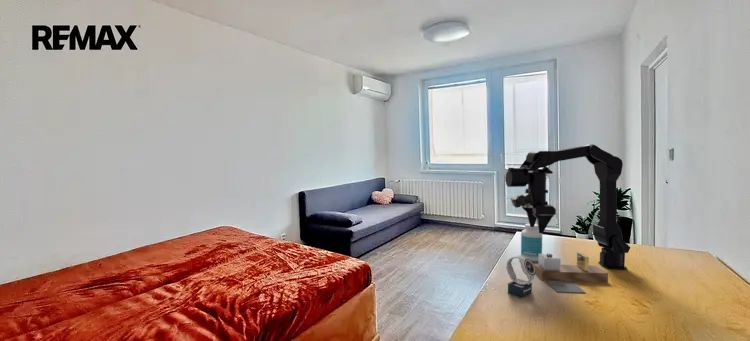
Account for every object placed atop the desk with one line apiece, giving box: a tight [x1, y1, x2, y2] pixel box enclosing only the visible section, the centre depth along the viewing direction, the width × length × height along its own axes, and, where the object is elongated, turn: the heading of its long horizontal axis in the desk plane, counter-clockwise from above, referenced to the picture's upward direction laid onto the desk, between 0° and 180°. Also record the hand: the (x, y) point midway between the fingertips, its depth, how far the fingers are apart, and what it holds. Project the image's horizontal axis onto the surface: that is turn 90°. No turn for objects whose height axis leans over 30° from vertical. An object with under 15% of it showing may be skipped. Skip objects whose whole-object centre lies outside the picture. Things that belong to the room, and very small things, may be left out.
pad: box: [545, 281, 586, 294], centre depth 103 cm, size 8×8×1 cm
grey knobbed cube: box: [537, 253, 562, 271], centre depth 111 cm, size 5×5×5 cm
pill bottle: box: [520, 223, 543, 263], centre depth 129 cm, size 8×7×14 cm
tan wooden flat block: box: [576, 251, 590, 271], centre depth 110 cm, size 2×5×5 cm, turn 174°
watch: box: [505, 255, 536, 299], centre depth 99 cm, size 6×8×11 cm
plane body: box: [533, 263, 609, 283], centre depth 111 cm, size 20×7×3 cm, turn 84°
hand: (536, 230), depth 119 cm, fingers open, 9 cm apart
